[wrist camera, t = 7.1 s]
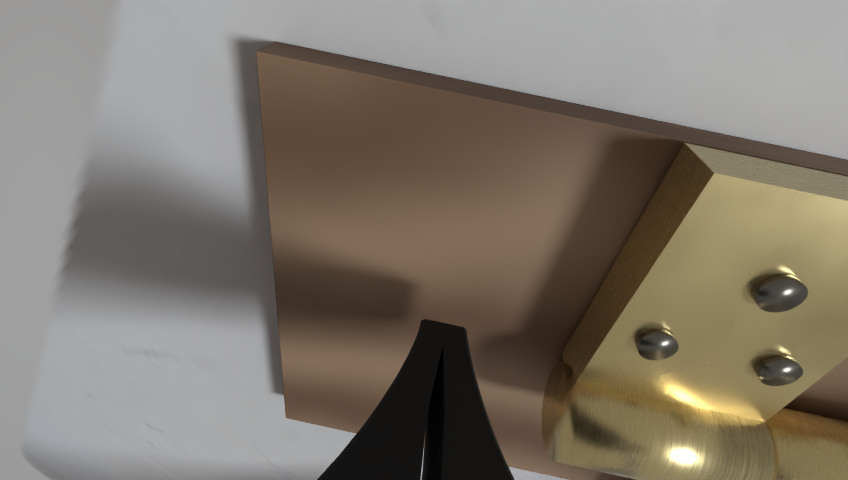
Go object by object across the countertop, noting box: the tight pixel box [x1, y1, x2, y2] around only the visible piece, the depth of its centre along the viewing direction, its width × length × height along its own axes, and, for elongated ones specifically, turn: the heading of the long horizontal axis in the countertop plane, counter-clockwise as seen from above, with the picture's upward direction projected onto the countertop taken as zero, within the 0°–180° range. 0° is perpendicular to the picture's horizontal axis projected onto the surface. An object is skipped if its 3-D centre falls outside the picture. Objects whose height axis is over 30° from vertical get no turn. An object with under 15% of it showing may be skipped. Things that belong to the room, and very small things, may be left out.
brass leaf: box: [542, 143, 848, 480], centre depth 11 cm, size 11×6×3 cm, turn 171°
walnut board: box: [256, 42, 848, 480], centre depth 15 cm, size 17×24×1 cm
